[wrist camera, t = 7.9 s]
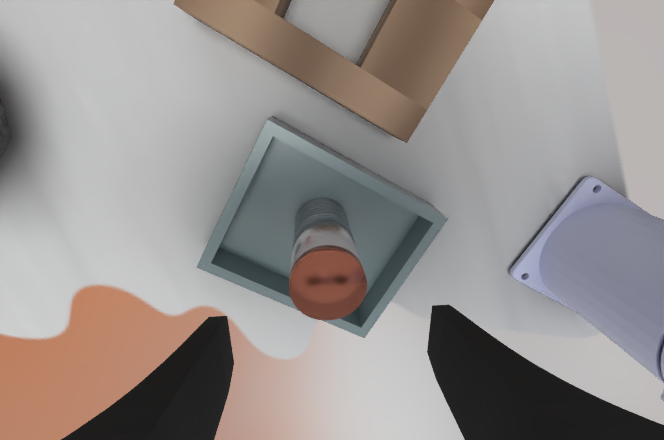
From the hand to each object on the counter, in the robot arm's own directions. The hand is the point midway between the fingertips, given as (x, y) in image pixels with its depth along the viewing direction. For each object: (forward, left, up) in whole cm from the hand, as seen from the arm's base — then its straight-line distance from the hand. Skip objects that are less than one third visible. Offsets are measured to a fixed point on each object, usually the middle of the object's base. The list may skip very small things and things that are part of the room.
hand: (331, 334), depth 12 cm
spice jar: (0, 0, -10) cm, 10 cm away
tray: (0, 0, -10) cm, 10 cm away
